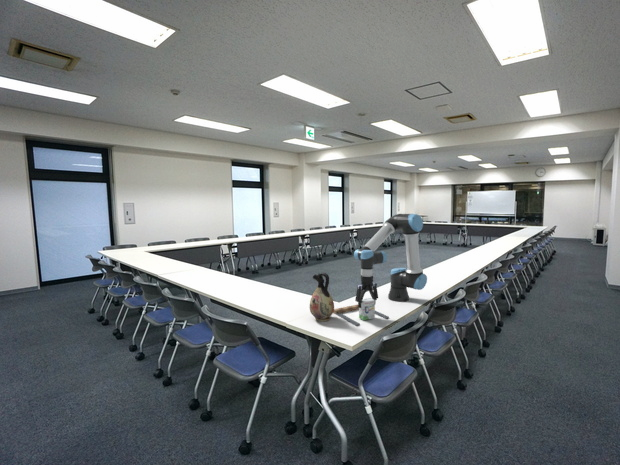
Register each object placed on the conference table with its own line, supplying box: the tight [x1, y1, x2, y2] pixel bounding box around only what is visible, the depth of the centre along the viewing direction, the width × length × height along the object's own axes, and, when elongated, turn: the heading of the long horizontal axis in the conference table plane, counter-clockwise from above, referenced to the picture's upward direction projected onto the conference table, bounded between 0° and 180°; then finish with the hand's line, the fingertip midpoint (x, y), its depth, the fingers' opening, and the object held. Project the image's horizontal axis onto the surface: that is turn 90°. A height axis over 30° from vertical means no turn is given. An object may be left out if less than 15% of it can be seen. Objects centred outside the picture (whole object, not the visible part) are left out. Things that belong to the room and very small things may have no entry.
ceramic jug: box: [309, 272, 335, 322], centre depth 184 cm, size 17×15×30 cm
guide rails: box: [335, 310, 390, 327], centre depth 189 cm, size 25×22×1 cm
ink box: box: [358, 297, 376, 321], centre depth 184 cm, size 9×5×12 cm, turn 114°
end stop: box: [333, 304, 359, 315], centre depth 200 cm, size 25×3×2 cm, turn 118°
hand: (366, 311), depth 185 cm, fingers closed on ink box, 9 cm apart
